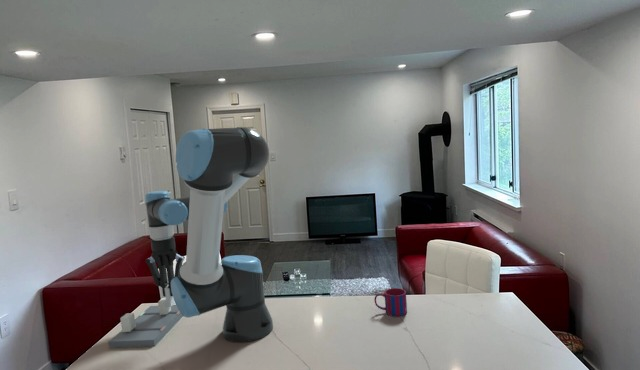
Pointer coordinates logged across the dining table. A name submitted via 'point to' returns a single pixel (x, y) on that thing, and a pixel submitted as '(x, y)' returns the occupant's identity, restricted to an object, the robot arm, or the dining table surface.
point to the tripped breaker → (163, 307)
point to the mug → (394, 302)
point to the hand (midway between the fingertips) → (170, 305)
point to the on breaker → (128, 322)
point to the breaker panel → (147, 328)
